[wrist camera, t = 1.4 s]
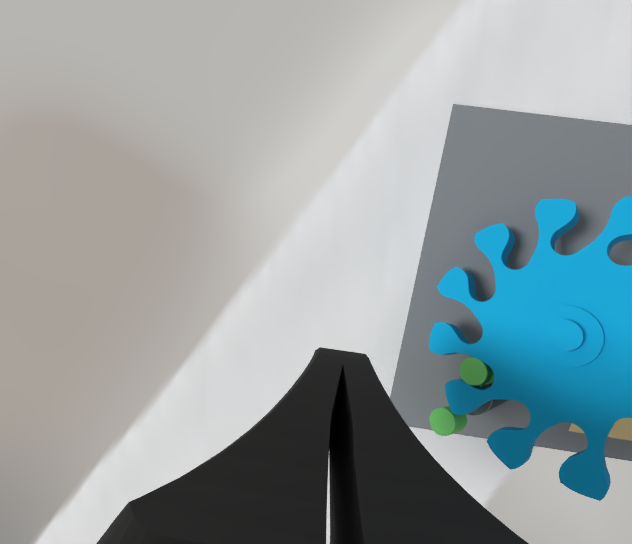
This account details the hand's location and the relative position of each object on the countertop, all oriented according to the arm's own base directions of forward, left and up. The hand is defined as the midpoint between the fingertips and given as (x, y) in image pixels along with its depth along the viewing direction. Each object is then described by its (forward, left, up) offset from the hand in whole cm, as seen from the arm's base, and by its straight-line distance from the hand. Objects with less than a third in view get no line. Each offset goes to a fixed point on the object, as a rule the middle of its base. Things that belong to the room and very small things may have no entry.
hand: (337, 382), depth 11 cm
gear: (-8, 0, -8) cm, 11 cm away
